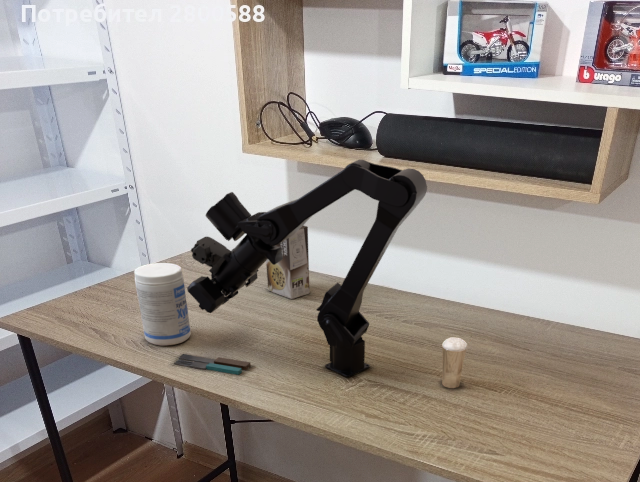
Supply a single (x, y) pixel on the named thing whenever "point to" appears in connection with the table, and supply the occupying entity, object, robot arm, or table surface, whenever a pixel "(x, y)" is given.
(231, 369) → the fork
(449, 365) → the milkshake
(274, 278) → the coffee box
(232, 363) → the knife
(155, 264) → the supplement tub
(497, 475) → the table surface
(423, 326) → the table surface
